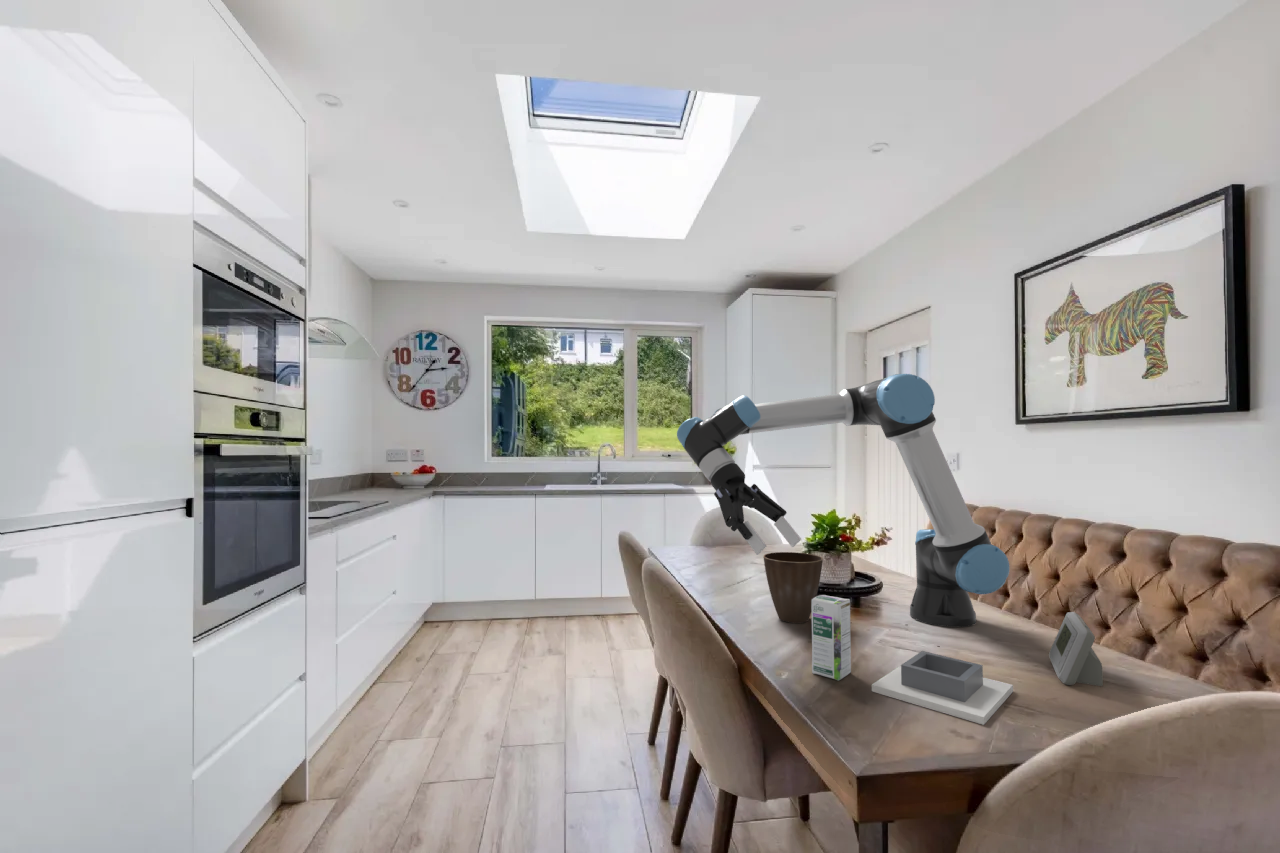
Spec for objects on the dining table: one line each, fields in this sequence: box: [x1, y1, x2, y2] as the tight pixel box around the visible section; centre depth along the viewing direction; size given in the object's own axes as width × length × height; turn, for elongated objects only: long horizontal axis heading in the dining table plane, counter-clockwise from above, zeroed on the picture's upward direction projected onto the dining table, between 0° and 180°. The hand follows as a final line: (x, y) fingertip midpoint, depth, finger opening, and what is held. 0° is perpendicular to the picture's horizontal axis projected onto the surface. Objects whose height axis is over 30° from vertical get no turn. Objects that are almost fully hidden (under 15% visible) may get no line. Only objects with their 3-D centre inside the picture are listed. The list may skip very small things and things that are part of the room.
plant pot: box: [762, 551, 824, 624], centre depth 149 cm, size 15×15×16 cm
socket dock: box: [871, 650, 1014, 726], centre depth 104 cm, size 18×18×5 cm
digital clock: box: [1048, 611, 1104, 687], centre depth 112 cm, size 16×9×11 cm, turn 139°
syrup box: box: [811, 594, 852, 681], centre depth 113 cm, size 6×6×14 cm
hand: (780, 546), depth 122 cm, fingers open, 13 cm apart
